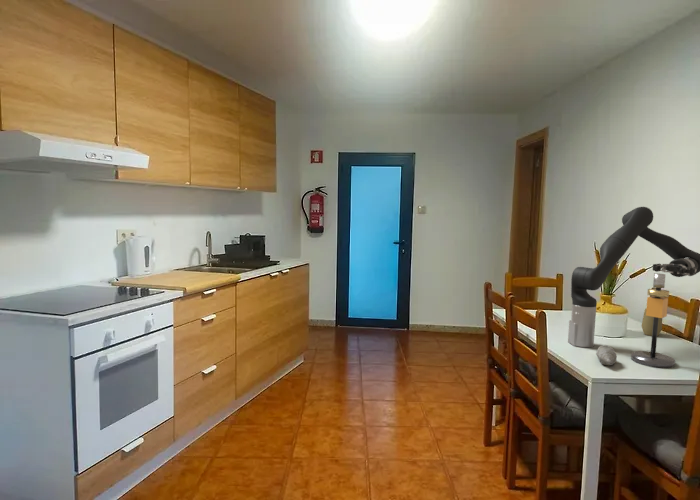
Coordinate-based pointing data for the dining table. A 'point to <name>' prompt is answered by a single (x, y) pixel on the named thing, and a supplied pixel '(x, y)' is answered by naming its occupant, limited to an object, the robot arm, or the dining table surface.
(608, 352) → the grey stone
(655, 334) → the post
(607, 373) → the dining table surface
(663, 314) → the sleeve
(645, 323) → the squeeze bottle
